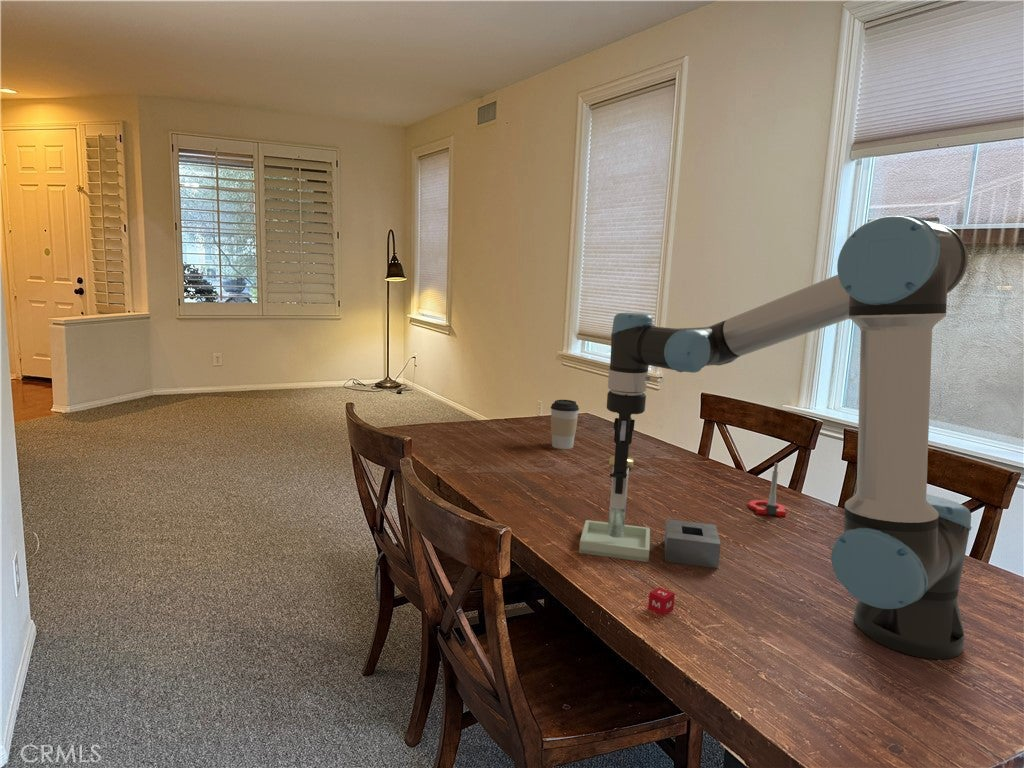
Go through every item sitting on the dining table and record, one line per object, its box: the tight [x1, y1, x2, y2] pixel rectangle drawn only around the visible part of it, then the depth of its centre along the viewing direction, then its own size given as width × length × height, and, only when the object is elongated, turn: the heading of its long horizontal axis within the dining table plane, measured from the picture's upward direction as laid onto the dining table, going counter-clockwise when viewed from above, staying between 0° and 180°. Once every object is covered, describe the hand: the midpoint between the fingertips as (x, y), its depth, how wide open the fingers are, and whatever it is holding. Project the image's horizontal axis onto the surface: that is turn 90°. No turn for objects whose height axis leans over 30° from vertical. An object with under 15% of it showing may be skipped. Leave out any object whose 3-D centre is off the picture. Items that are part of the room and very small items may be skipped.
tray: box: [578, 519, 651, 563], centre depth 133 cm, size 12×14×2 cm
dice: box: [647, 586, 675, 616], centre depth 109 cm, size 3×3×3 cm
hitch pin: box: [608, 454, 635, 538], centre depth 132 cm, size 5×5×16 cm
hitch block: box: [663, 518, 722, 569], centre depth 130 cm, size 10×10×5 cm
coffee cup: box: [550, 399, 580, 450], centre depth 206 cm, size 9×9×15 cm
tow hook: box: [748, 462, 787, 517], centre depth 158 cm, size 8×13×9 cm
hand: (618, 504), depth 132 cm, fingers closed on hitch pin, 3 cm apart
